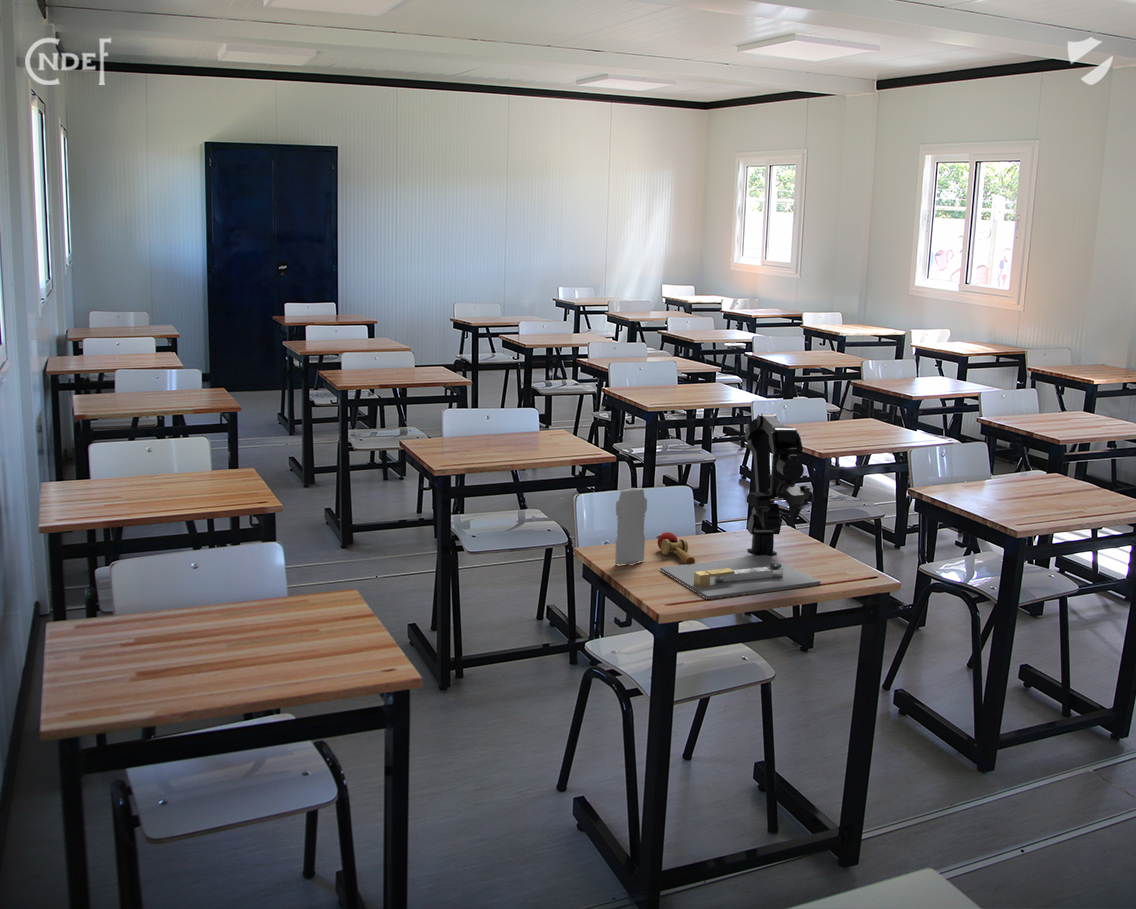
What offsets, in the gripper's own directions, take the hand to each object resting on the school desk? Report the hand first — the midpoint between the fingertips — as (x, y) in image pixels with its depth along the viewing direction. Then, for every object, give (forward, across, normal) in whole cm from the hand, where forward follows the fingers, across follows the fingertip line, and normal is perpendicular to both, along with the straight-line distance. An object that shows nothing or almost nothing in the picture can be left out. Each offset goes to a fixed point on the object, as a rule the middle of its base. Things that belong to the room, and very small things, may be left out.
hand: (778, 527), depth 265 cm
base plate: (+12, -14, -4) cm, 19 cm away
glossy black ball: (+9, -6, -8) cm, 13 cm away
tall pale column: (+12, -37, +18) cm, 43 cm away
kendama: (+12, -21, +19) cm, 31 cm away
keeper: (+11, -25, -8) cm, 29 cm away
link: (+11, -14, -7) cm, 19 cm away
